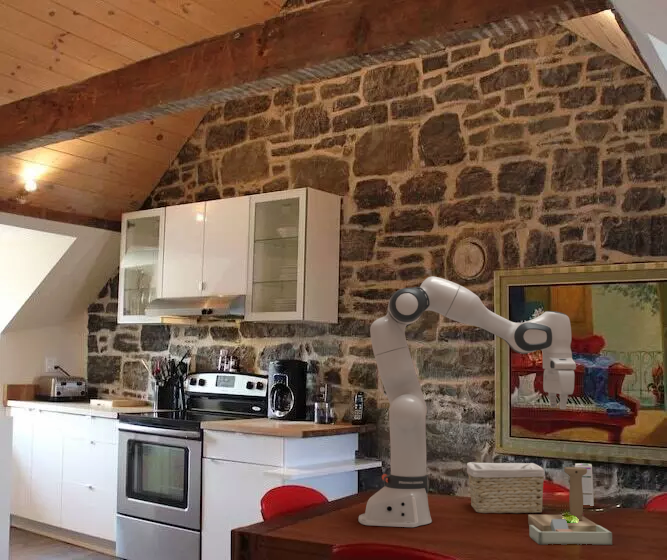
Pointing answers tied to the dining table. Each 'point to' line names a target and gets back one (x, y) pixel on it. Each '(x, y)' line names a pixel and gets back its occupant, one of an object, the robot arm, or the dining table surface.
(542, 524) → the square wooden board
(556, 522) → the tile
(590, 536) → the tray
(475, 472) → the storage basket
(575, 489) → the handle
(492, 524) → the dining table surface
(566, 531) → the tile
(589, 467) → the syrup box
